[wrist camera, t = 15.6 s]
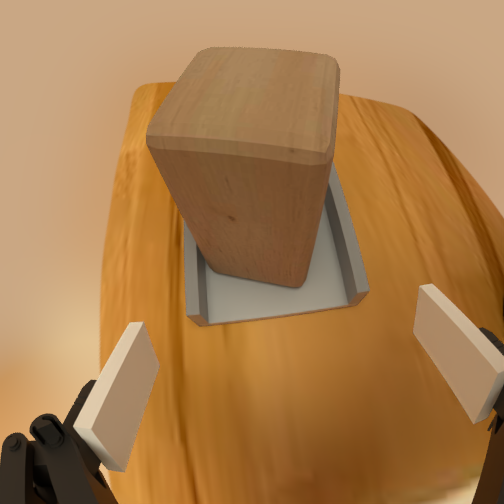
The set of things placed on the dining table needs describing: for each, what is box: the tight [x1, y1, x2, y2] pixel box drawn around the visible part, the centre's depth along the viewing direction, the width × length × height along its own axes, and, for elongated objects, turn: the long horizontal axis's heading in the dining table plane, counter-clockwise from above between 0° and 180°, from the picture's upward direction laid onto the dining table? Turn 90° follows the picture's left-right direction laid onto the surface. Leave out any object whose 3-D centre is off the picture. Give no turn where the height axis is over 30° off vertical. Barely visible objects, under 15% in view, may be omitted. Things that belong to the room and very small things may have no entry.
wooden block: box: [146, 47, 340, 287], centre depth 25 cm, size 10×10×20 cm
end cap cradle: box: [184, 162, 370, 326], centre depth 32 cm, size 16×16×5 cm
